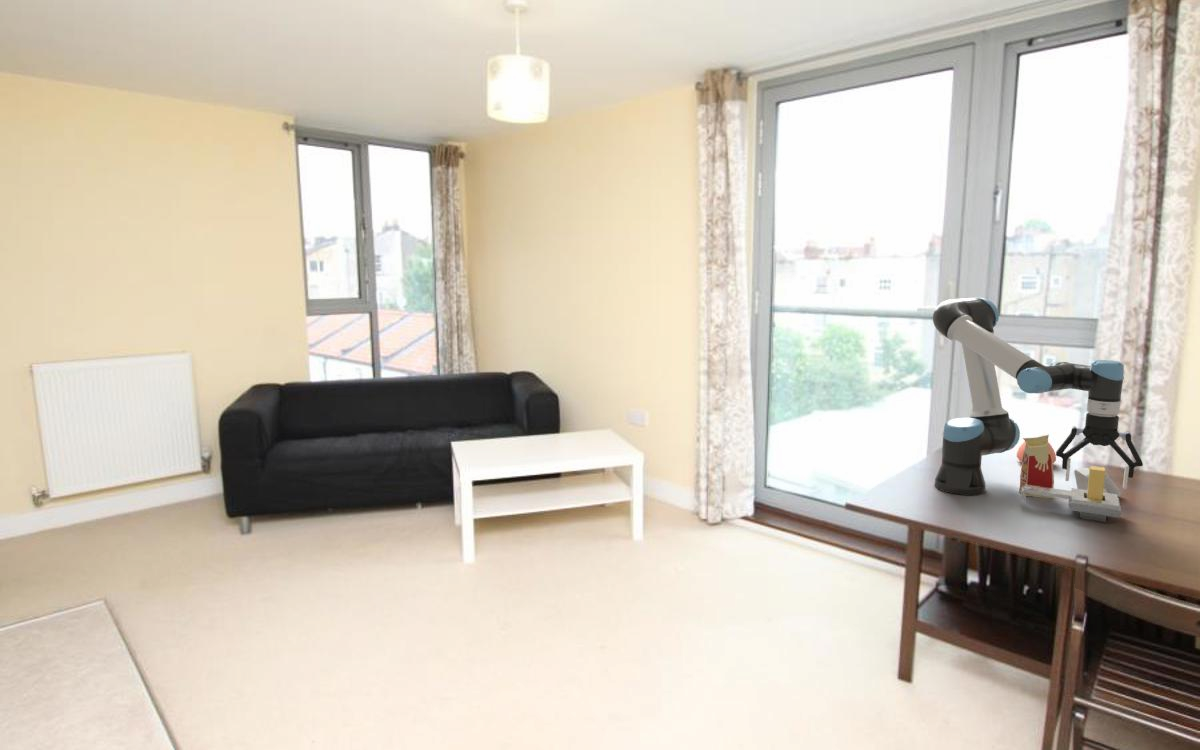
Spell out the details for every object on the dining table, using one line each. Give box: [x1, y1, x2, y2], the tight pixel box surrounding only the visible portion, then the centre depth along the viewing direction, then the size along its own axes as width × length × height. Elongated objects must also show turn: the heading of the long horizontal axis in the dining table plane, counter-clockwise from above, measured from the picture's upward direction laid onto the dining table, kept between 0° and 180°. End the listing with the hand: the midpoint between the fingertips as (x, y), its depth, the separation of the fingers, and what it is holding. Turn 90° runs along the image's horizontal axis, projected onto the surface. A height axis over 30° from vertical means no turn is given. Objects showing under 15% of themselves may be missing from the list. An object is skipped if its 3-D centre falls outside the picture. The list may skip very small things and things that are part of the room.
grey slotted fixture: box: [1020, 484, 1122, 523], centre depth 196 cm, size 24×12×6 cm, turn 54°
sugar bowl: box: [1016, 441, 1057, 464], centre depth 242 cm, size 12×14×10 cm
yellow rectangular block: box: [1087, 465, 1106, 500], centre depth 192 cm, size 4×4×12 cm
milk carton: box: [1018, 433, 1055, 500], centre depth 212 cm, size 9×9×20 cm
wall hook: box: [1073, 467, 1122, 498], centre depth 208 cm, size 8×10×10 cm
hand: (1095, 483), depth 192 cm, fingers open, 13 cm apart
